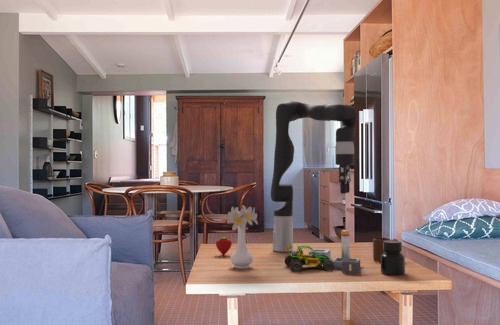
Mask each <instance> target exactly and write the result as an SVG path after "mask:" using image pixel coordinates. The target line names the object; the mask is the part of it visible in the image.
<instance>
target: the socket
mask: <svg viewBox="0 0 500 325" xmlns="http://www.w3.org/2000/svg"><path fill="white" fill-rule="evenodd" d="M312 249H313V250H314V251H315V252H316V253H317V254H319V255H318V256H320V255H323V254H324V255H325V254H326V255H327V256H330V257H331V249H326V248H325V249H324V248H323V249H322V248H312ZM313 250H312V251H313ZM312 251H311V249H309V251H308V255H313V253H315V252H314V251H313V252H312ZM316 253H315V256H317V255H316ZM322 257H323V256H322Z"/></svg>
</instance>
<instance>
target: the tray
mask: <svg viewBox="0 0 500 325" xmlns="http://www.w3.org/2000/svg"><path fill="white" fill-rule="evenodd" d="M331 260H332V263H333V269H335V270H342V257H338V256H337V257H334V258H333V259H331ZM350 260H356V261H360V262H361V259H360V258H356V257H354V258H352V257H350ZM333 269H332V270H333Z"/></svg>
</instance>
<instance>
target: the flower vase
mask: <svg viewBox="0 0 500 325" xmlns="http://www.w3.org/2000/svg"><path fill="white" fill-rule="evenodd" d="M241 206H242V208H241V209H240V211H239V207H234V206H231V209H230V211H228V212H227V215H226V218H228V219H227V220H226V222H227V224H233V225H232V227H231V228H232V231H236V230H237V243H236V244H237V245H236V248H235V250H234V252H232V254H231V256H230V262H231V264H232V265H233V267H234V269H241V270H242V269H243V270H244V269H248V268H249V267H250V265H251V264H252V263H253V261H254V257H253V255H252V253H251V252H250V251H249V250H248V247H247V242H246V226H247V224H249V225H250V226H253V222H254V223H255V225H259V223H258V220H257V218H258V214H257V212H255V211H256V210H255V209H256V208H255V207H252V206H248V207H246V206H245V205H244V204H243V205H241Z"/></svg>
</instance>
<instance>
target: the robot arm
mask: <svg viewBox="0 0 500 325" xmlns="http://www.w3.org/2000/svg"><path fill="white" fill-rule="evenodd" d="M357 116H358V114H357V110H356V108H355V107H354V106H353V105H351V104H345V103H333V104H329V103H327V104H325V103H321V104H320V103H316V104H315V103H305V102H301V101H297V100H296V101H295V100H288V101H285V102H284V101H283V102H280V103H279V104H278V105H277V107H276V110H275V146H274V156H273V174H272V180H271V186H270V199H271V201H272V202H273V203H282V202H283V203H284V204H283V205H282V206H281V207H278V208H276V209H274V211H273V231H272V251H275V252H278V253H279V252H281V253H283V252H284V253H287V252H288V253H289V252H292V251H294V244H293V243H294V237H293V236H294V234H293V233H294V232H293V226H294V223H293V218H294V217H293V214H294V212H293V210H294V209H293V208H294V207H293V206H294V205H293V204H294V203H293V202H294V187H293V185H292V183H288V182H287V183H286V182H285V183H284V182H283V183H282V182H281V179H282V177H283V176H284V174H285V173H286V172H287V171H288V170H289V168H290V167H291V166H292V164H293V163H294V157H295V156H294V155H295V146H294V144H293V140H292V139H291V137H290V134H289V132H290V130H289V128H290V123H291V122H294V121H297V120H299V119H304V118H306V119H307V118H309V119H312V120H315V121H320V122H321V121H323V122H324V121H325V122H331V121H332V122H341V125H340V127H338V128H336V130H335V150H334V153H335V157H334V158H335V160H334V162H335V163H334V164H335V165H336V166H340V167H338V182H339V186H340V194H342V195H343V194H345V195H346V194H348V193H349V194H350V184H351V180H352V178H351V170H352V169H351V167H350V166H354V165H355V145H354V130H355V127H356V126H355V125H356V123H357V122H356V121H357ZM289 244H290V246H291V248H292V249H291V248H290V249H288V250H286V251H284V250H285V248H286V247H287V246H288V245H289Z"/></svg>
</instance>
